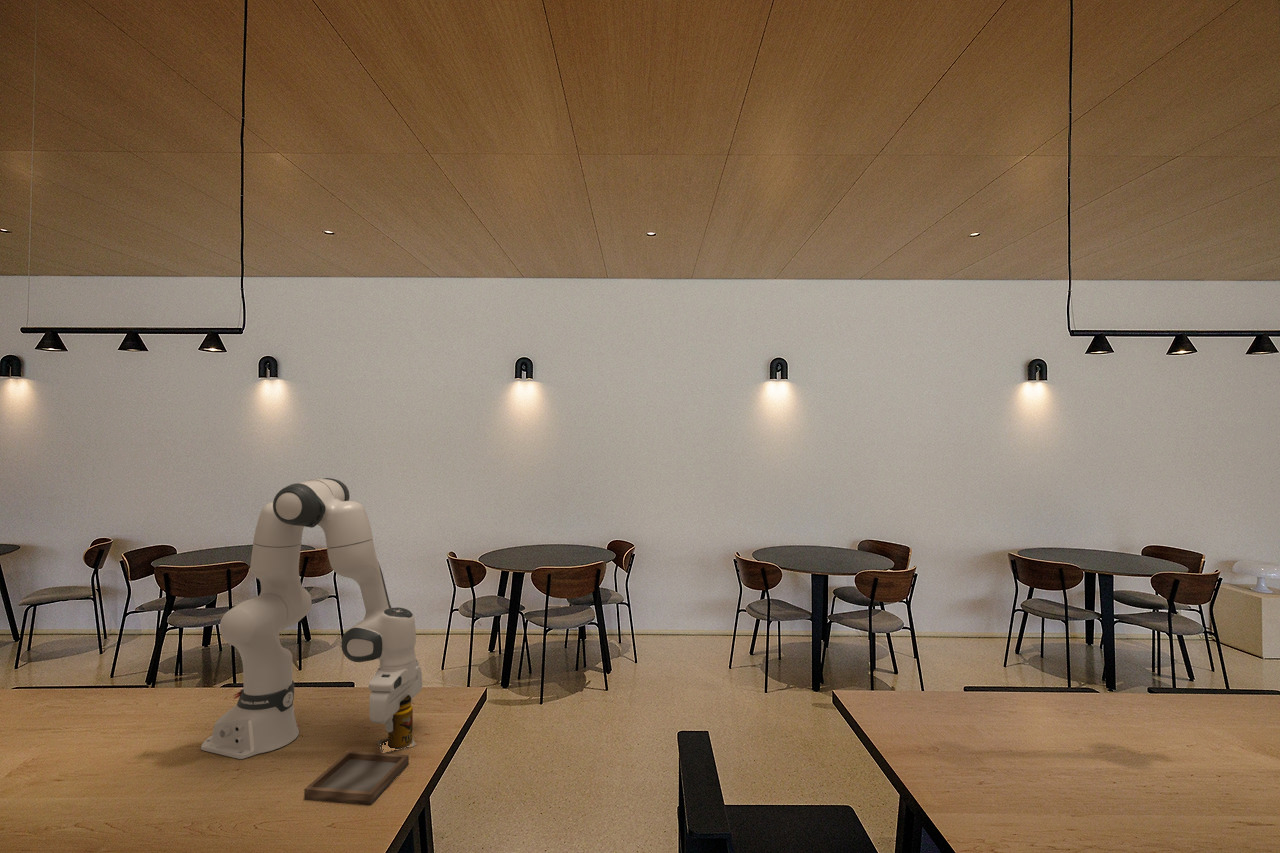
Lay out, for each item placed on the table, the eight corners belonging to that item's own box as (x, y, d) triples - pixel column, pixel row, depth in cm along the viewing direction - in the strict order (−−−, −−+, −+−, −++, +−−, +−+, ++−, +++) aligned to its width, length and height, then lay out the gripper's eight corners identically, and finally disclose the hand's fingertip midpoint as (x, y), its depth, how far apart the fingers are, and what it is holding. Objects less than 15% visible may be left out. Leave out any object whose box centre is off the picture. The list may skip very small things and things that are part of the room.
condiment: (416, 745, 155) (416, 699, 155) (381, 755, 150) (381, 707, 150) (410, 733, 161) (410, 689, 161) (376, 742, 157) (377, 697, 157)
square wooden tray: (304, 799, 132) (304, 789, 132) (348, 759, 148) (348, 750, 148) (371, 805, 130) (371, 794, 130) (408, 764, 146) (408, 755, 146)
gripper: (407, 655, 167) (407, 704, 167) (364, 686, 147) (364, 742, 147) (428, 656, 166) (428, 706, 166) (388, 688, 146) (388, 744, 146)
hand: (397, 723), depth 156 cm, fingers closed on condiment, 6 cm apart
